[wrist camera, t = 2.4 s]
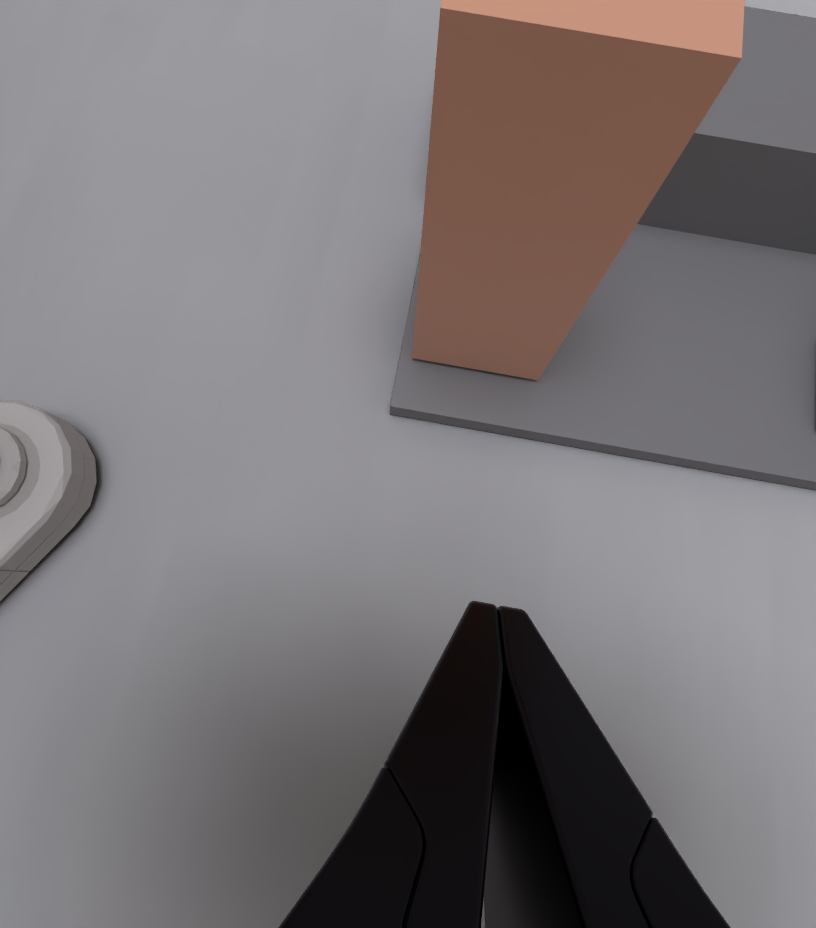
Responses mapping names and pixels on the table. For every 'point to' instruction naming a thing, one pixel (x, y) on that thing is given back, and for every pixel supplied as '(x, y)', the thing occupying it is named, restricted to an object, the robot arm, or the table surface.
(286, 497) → the table surface
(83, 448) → the electronic device
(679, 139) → the key
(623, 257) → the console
